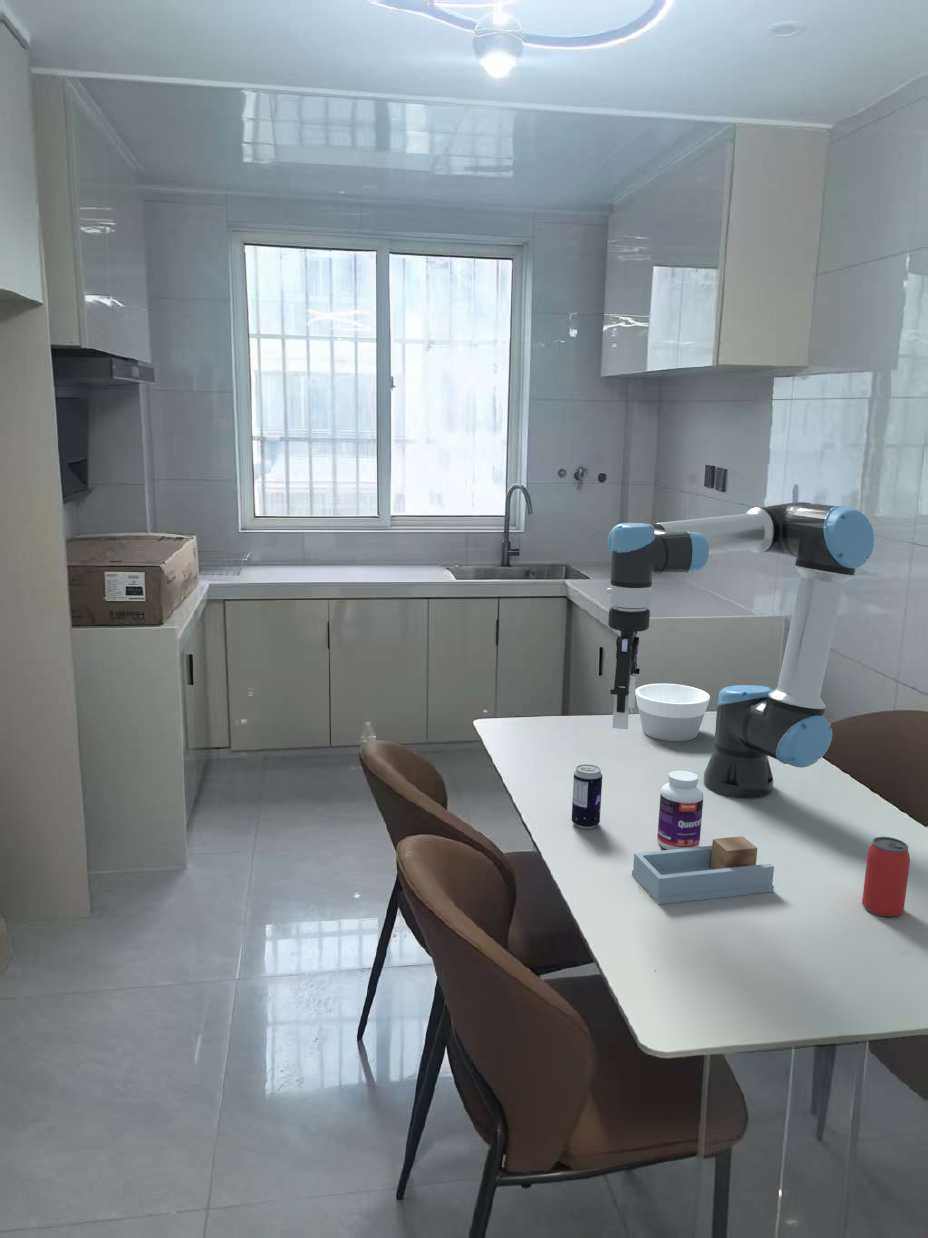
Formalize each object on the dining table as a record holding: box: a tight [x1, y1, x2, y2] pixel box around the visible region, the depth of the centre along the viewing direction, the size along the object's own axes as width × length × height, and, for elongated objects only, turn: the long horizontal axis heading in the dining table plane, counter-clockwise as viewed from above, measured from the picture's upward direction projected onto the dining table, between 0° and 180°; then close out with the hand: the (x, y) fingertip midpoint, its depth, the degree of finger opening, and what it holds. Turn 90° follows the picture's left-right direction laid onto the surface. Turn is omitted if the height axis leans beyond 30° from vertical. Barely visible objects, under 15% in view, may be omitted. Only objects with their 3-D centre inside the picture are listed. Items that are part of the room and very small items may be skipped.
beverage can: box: [571, 764, 603, 830], centre depth 196 cm, size 6×6×12 cm
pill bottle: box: [656, 770, 704, 850], centre depth 187 cm, size 8×8×14 cm
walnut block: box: [710, 835, 758, 870], centre depth 174 cm, size 6×5×6 cm
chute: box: [631, 845, 775, 905], centre depth 173 cm, size 22×11×4 cm, turn 105°
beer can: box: [861, 836, 911, 918], centre depth 164 cm, size 7×7×12 cm
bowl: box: [635, 683, 711, 742], centre depth 255 cm, size 19×19×11 cm
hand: (623, 717), depth 184 cm, fingers open, 13 cm apart
